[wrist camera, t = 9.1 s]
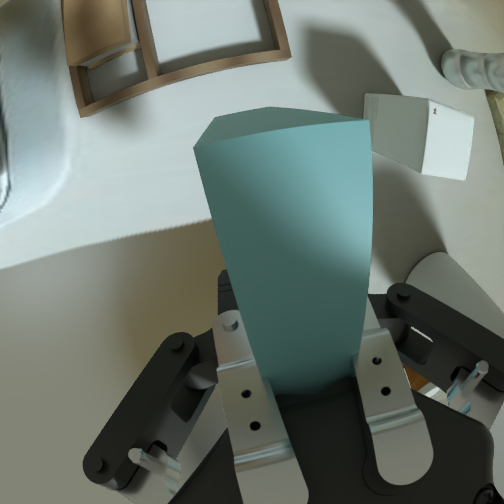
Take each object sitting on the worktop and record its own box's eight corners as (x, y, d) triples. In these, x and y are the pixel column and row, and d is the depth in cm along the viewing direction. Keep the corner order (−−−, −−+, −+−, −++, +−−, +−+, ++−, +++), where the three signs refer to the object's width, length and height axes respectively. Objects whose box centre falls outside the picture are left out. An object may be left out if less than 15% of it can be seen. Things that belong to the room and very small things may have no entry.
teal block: (269, 106, 11) (369, 119, 3) (300, 326, 18) (336, 444, 11) (214, 117, 11) (193, 147, 3) (265, 334, 18) (288, 456, 11)
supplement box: (359, 146, 31) (419, 174, 20) (363, 91, 27) (428, 95, 16) (403, 153, 31) (466, 183, 21) (409, 102, 28) (476, 116, 17)
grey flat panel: (125, -47, 12) (120, -53, 11) (140, 42, 21) (135, 38, 19) (76, -23, 13) (69, -28, 11) (87, 66, 21) (79, 65, 19)
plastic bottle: (464, 90, 26) (567, 119, 9) (437, 84, 26) (551, 109, 9) (460, 54, 22) (562, 67, 5) (432, 45, 22) (544, 49, 5)
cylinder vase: (406, 312, 48) (463, 409, 27) (396, 273, 42) (474, 387, 21) (451, 281, 46) (516, 365, 25) (447, 238, 40) (535, 330, 19)
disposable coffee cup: (418, 348, 57) (438, 382, 47) (432, 352, 61) (450, 383, 50) (393, 370, 61) (409, 405, 51) (409, 373, 64) (424, 404, 54)
